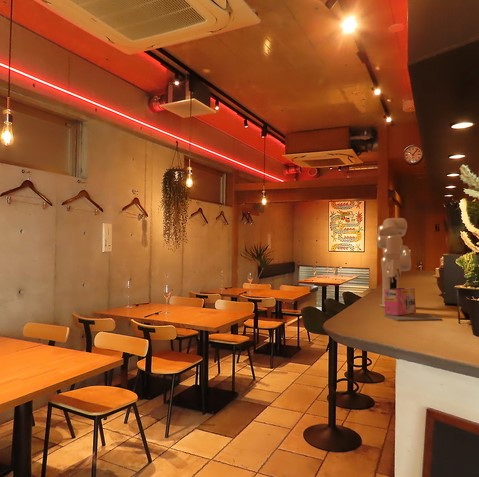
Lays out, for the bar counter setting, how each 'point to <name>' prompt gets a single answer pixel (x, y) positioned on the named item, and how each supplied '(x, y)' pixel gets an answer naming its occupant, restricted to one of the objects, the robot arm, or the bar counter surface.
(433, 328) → the bar counter surface
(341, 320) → the bar counter surface
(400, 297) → the gum box
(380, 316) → the bar counter surface
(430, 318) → the mat
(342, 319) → the bar counter surface
